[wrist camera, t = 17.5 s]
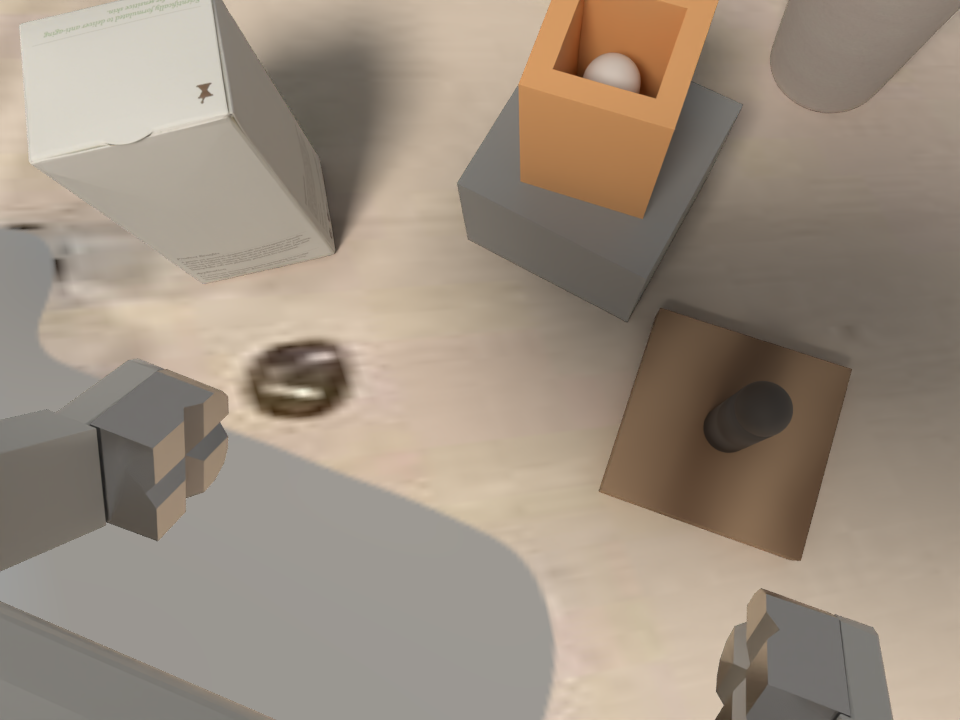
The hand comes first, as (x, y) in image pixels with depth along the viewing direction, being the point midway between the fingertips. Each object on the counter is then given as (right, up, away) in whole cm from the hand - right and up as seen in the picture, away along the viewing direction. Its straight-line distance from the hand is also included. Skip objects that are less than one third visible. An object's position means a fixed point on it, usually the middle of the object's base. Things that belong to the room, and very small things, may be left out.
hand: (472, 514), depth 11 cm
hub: (+6, +11, +32) cm, 35 cm away
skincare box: (-13, +10, +34) cm, 37 cm away
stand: (+13, -2, +29) cm, 32 cm away
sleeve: (+6, +12, +26) cm, 29 cm away
